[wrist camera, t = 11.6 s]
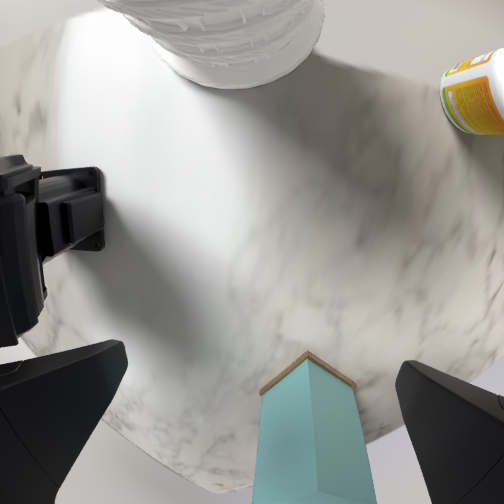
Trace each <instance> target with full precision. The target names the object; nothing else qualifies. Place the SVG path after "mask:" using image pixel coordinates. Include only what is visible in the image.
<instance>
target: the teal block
mask: <svg viewBox="0 0 504 504" xmlns="http://www.w3.org/2000/svg"><path fill="white" fill-rule="evenodd" d="M252 504H377V502H376V496H375V490H374V485H373V480H372V474H371V469H370V464H369V459H368V454H367V449H366V445H365V440H364V435H363V431H362V426H361V422H360V417H359V413H358V409H357V405H356V400H355V396H354V392H353V388H352V387H350V386H348V385H347V384H345V383H344V382H342V381H341V380H339V379H338V378H336V377H334V376H333V375H331V374H330V373H328V372H327V371H325V370H324V369H322V368H321V367H319V366H318V365H316V364H315V363H313V362H312V361H310V360H309V359H306V360H305V361H304V362H303V363H302V364H300V365H299V366H298V367H297V368H296V369H294V370H293V371H292V372H291V373H290V374H288V375H287V376H286V377H285V378H284V379H282V380H281V381H280V382H279V383H277V384H276V385H275V386H274V387H272V388H271V389H270V390H269V391H267V392H266V393H265V394H263V395H262V405H261V416H260V427H259V438H258V448H257V459H256V468H255V478H254V488H253V497H252Z"/></svg>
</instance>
